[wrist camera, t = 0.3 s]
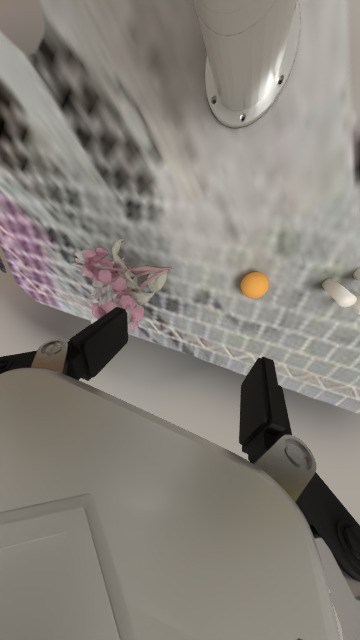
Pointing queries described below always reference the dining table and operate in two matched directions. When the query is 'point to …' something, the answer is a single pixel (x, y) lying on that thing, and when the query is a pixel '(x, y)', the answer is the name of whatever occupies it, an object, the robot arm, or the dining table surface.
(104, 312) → the flower
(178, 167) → the dining table surface
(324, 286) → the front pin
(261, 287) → the ball
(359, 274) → the pin
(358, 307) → the pin
